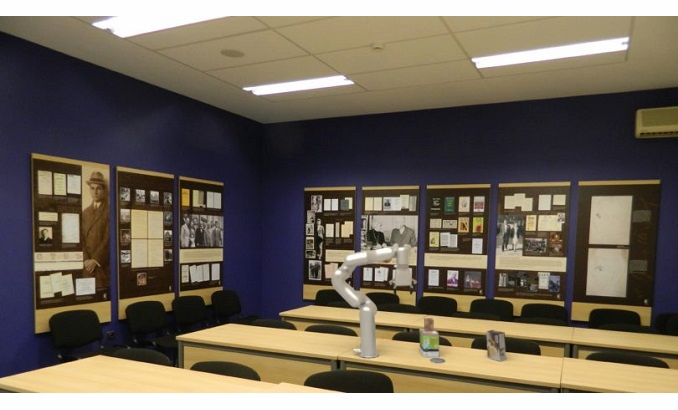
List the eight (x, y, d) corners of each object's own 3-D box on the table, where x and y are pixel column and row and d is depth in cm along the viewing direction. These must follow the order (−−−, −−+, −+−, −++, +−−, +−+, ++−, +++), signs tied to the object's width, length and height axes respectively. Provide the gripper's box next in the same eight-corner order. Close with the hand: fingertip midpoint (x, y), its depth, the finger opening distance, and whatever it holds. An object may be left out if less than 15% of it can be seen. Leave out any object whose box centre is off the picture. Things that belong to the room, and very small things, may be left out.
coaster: (431, 363, 256) (431, 362, 256) (428, 358, 265) (428, 358, 265) (447, 363, 257) (447, 362, 257) (443, 358, 266) (443, 357, 266)
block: (426, 331, 274) (425, 319, 274) (424, 329, 279) (424, 318, 279) (434, 331, 274) (433, 319, 274) (432, 329, 279) (431, 318, 279)
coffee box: (506, 359, 261) (505, 332, 262) (500, 361, 257) (499, 334, 258) (493, 356, 268) (492, 329, 269) (486, 358, 264) (485, 331, 265)
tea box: (439, 357, 268) (439, 333, 269) (423, 357, 268) (422, 333, 269) (434, 350, 283) (434, 327, 284) (419, 350, 283) (418, 327, 284)
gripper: (389, 267, 268) (390, 295, 268) (417, 267, 269) (418, 295, 268) (387, 266, 276) (388, 294, 275) (415, 266, 276) (415, 293, 275)
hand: (403, 294), depth 272 cm, fingers open, 9 cm apart
